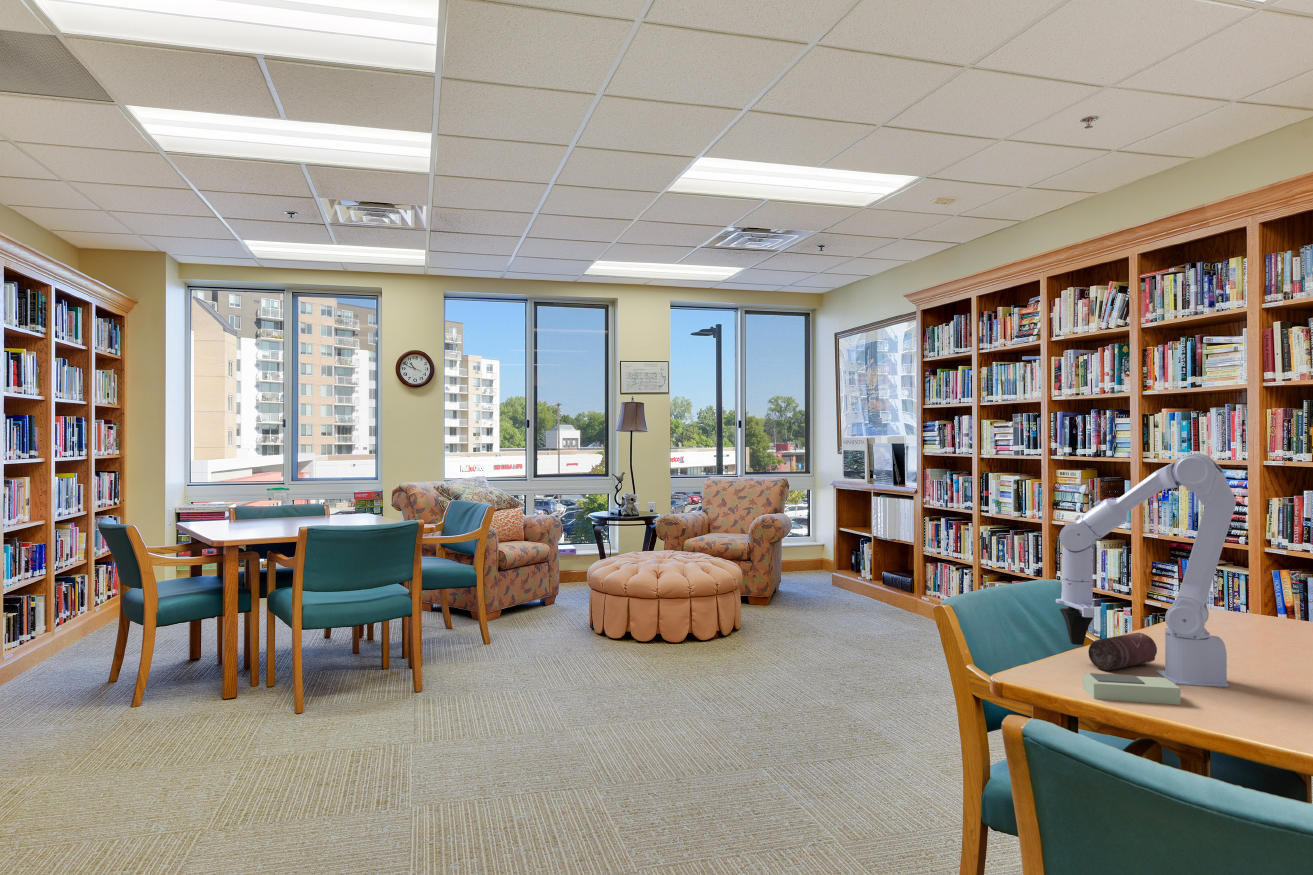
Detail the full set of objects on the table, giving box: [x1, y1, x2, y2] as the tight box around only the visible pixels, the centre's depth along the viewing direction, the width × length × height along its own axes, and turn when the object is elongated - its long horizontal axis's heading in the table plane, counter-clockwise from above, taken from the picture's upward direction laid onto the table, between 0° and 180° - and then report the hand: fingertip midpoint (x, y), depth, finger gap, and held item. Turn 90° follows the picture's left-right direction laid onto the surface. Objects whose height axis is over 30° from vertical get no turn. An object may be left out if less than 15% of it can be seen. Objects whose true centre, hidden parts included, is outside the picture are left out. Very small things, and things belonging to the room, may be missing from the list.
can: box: [1088, 632, 1158, 672], centre depth 161 cm, size 6×6×14 cm
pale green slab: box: [1082, 672, 1182, 705], centre depth 142 cm, size 14×6×3 cm, turn 78°
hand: (1076, 643), depth 164 cm, fingers closed
